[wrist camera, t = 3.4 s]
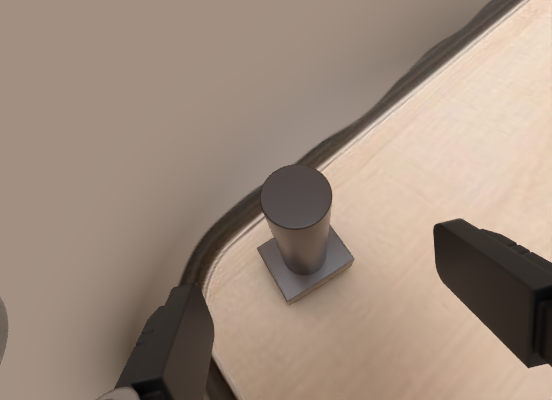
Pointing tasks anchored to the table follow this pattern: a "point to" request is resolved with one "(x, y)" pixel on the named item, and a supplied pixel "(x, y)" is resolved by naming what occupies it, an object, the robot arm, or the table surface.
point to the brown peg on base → (300, 231)
